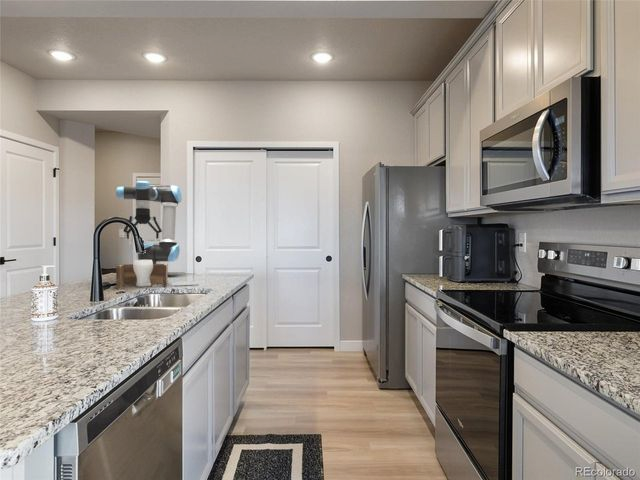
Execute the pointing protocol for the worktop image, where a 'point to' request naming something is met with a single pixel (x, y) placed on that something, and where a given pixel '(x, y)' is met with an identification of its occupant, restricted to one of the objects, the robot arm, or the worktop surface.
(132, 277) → the crate
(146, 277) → the cup
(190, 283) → the mat
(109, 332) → the worktop surface
